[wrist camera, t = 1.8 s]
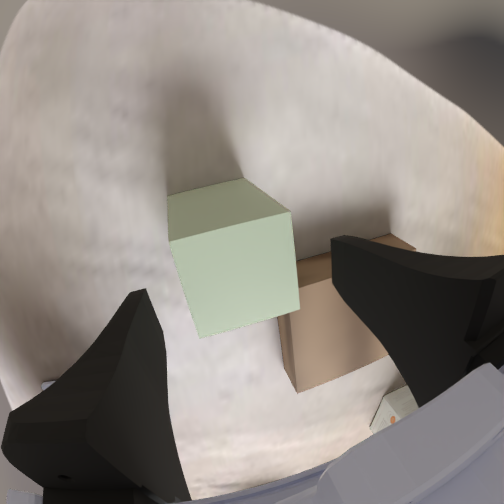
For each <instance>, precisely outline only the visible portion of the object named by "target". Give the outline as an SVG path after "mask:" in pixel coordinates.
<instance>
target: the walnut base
mask: <svg viewBox="0 0 504 504" xmlns="http://www.w3.org/2000/svg"><path fill="white" fill-rule="evenodd" d="M370 241H374V242H377V243H381V244H385V245H389V246H393V247H397V248H401V249H406V250H410V251H415V252H416V248H414V247H413V246H411V245H409V244H408V243H406V242H404V241H403V240H401V239H399V238H398V237H396V236H394V235H393V234H388V235H385V236H381V237H378V238H375V239H371V240H370ZM296 268H297V279H298V290H299V302H300V309H299V310H296V311H293V312H290V313H287V314H284V315H280V316H277V317H278V324H279V332H280V339H281V347H282V354H283V362H284V369H285V371H286V373H287V375H288V377H289V379H290V381H291V383H292V384H293V386H294V388H295V390H296V392H297V393H300V392H303V391H306V390H308V389H311V388H314V387H316V386H319V385H321V384H324V383H326V382H329V381H331V380H334V379H336V378H339V377H341V376H343V375H346V374H348V373H350V372H353V371H355V370H357V369H359V368H361V367H364V366H366V365H368V364H370V363H372V362H374V361H377V360H379V359H381V358H383V357H385V356H387V355H389V354H388V352H387V351H386V350H385V348H384V347H383V345H382V344H381V342H380V341H379V340H378V339H377V337H376V336H375V335H374V334H373V333H372V332H371V331H370V329H369V328H368V327H367V326H366V325H365V324H364V323H363V322H362V321H361V320H360V318H359V317H358V316H357V315H356V314H355V313H354V312H353V311H352V310H351V308H350V307H349V306H348V305H347V304H346V303H345V302H344V300H343V299H342V297H341V296H340V295H339V293H338V292H337V290H336V288H335V287H334V285H333V284H332V264H331V252H327V253H324V254H320V255H317V256H313V257H310V258H307V259H303V260H300V261H296Z"/></svg>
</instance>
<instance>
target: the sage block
mask: <svg viewBox="0 0 504 504" xmlns="http://www.w3.org/2000/svg"><path fill="white" fill-rule="evenodd" d="M167 207H168V238H169V245H170V248H171V252H172V255H173V259H174V262H175V265H176V268H177V272H178V275H179V278H180V281H181V285H182V288H183V291H184V294H185V297H186V300H187V303H188V306H189V309H190V312H191V315H192V318H193V321H194V324H195V327H196V330H197V333H198V336H199V339H201V338H205V337H208V336H212V335H216V334H219V333H223V332H226V331H230V330H234V329H237V328H241V327H244V326H247V325H251V324H254V323H258V322H261V321H264V320H267V319H271V318H274V317H277V316H280V315H284V314H287V313H290V312H293V311H296V310H299V309H300V302H299V290H298V279H297V268H296V257H295V247H294V238H293V228H292V219H291V211H289V210H288V209H287V208H285V207H284V206H283V205H281V204H280V203H278V202H277V201H276V200H274V199H273V198H272V197H270V196H269V195H268V194H266V193H265V192H263V191H262V190H261V189H259V188H258V187H256V186H255V185H254V184H252V183H251V182H249V181H248V180H247V179H245V178H241V179H236V180H232V181H227V182H223V183H219V184H214V185H210V186H206V187H202V188H197V189H193V190H189V191H185V192H181V193H177V194H173V195H170V196H167Z"/></svg>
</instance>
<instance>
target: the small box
mask: <svg viewBox="0 0 504 504" xmlns="http://www.w3.org/2000/svg"><path fill="white" fill-rule="evenodd" d="M417 409H419V407H418V405H417V403H416V401H415V399H414V396H413V395H412V393H411V391H410V389H409V387H408V385H406V386H404V387H402V388H400V389H398V390H396V391H393V392H391V393H389V394H387V395H385V396H384V397H383V400H382V402H381V404H380V407H379V409H378V411H377V413H376V415H375V418H374V420H373V422H372V424H371V426H370V429H371V431H372V432H373V434H375V433H377V432H378V431H380V430H382V429H384V428H386V427H388V426H390V425H391V424H393V423H395V422H397V421H399V420H400V419H402V418H404V417H405V416H407V415H409V414H411V413H412V412H414V411H415V410H417Z"/></svg>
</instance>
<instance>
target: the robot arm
mask: <svg viewBox="0 0 504 504" xmlns="http://www.w3.org/2000/svg"><path fill="white" fill-rule="evenodd" d="M331 264H332V284H333V285H334V287H335V288H336V290H337V292H338V293H339V295H340V296H341V297H342V299H343V300H344V302H345V303H346V304H347V305H348V306H349V307H350V308H351V310H352V311H353V312H354V313H355V314H356V315H357V316H358V317H359V318H360V320H361V321H362V322H363V323H364V324H365V325H366V326H367V327H368V328H369V329H370V331H371V332H372V333H373V334H374V335H375V336H376V337H377V339H378V340H379V341H380V342H381V344H382V345H383V347H384V348H385V350H386V351H387V352H388V354H389V355H390V357H391V358H392V360H393V361H394V363H395V365H396V366H397V368H398V370H399V371H400V373H401V375H402V376H403V378H404V380H405V382H406V383H407V385H408V387H409V389H410V391H411V393H412V395H413V396H414V399H415V401H416V403H417V405H418V407H419V409H417V410H415V411H414V412H412V413H411V414H409V415H407V416H405V417H404V418H402V419H400V420H399V421H397V422H395V423H393V424H391V425H390V426H388V427H386V428H384V429H382V430H380V431H378V432H377V433H375V434H373V435H372V436H370V437H369V438H367V439H365V440H364V441H362V442H360V443H358V444H357V445H355V446H353V447H351V448H350V449H349V450H347V451H346V452H345V453H344V454H342V455H341V456H340V457H338V458H336V459H334V460H331V461H329V462H327V463H324V464H322V465H319V466H317V467H314V468H312V469H309V470H306V471H304V472H301V473H298V474H295V475H292V476H289V477H286V478H283V479H280V480H277V481H274V482H271V483H267V484H264V485H260V486H257V487H253V488H249V489H245V490H241V491H237V492H233V493H229V494H224V495H220V496H215V497H210V498H204V499H198V500H192V499H191V497H190V494H189V491H188V488H187V485H186V481H185V478H184V475H183V471H182V468H181V464H180V460H179V457H178V453H177V448H176V444H175V440H174V435H173V430H172V425H171V419H170V414H169V406H168V389H167V358H166V348H165V341H164V335H163V330H162V328H161V325H160V323H159V321H158V318H157V316H156V313H155V311H154V308H153V306H152V303H151V301H150V298H149V296H148V293H147V290H146V288H145V289H141V290H137V291H133V292H130V293H129V294H128V296H127V297H126V298H125V300H124V301H123V303H122V304H121V306H120V307H119V309H118V310H117V312H116V313H115V314H114V316H113V317H112V319H111V320H110V322H109V323H108V324H107V326H106V327H105V328H104V330H103V331H102V332H101V334H100V335H99V336H98V338H97V339H96V340H95V342H94V343H93V344H92V345H91V346H90V348H89V349H88V350H87V351H86V352H85V353H84V354H83V355H82V357H81V358H80V359H79V360H78V361H77V362H76V363H75V364H74V365H73V366H72V367H71V368H69V369H68V370H67V371H66V372H65V373H64V374H63V375H62V376H61V377H60V378H59V379H58V380H56V381H50V382H43V383H42V386H41V388H42V390H43V391H42V392H41V393H40V394H38V395H37V396H35V397H34V398H33V399H31V400H29V401H28V402H26V403H25V404H23V405H21V406H20V407H18V408H17V409H15V410H13V411H11V412H10V413H9V417H8V421H7V424H6V428H5V432H4V437H3V441H2V445H1V449H2V451H3V454H4V456H5V457H6V458H7V459H8V461H9V462H10V463H11V464H12V465H13V466H14V467H16V468H17V469H18V470H19V471H21V472H22V473H23V474H25V475H26V476H28V477H29V478H30V479H32V480H33V481H34V482H36V483H37V484H39V485H40V486H42V487H43V488H44V490H43V496H41V495H38V494H36V493H31V492H25V491H19V490H13V489H9V490H8V492H7V502H6V504H504V255H497V256H488V257H455V256H442V255H434V254H427V253H420V252H415V251H410V250H406V249H401V248H397V247H393V246H389V245H385V244H381V243H377V242H374V241H370V240H366V239H362V238H358V237H353V236H346V235H343V236H339V237H336V238H332V239H331Z"/></svg>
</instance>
